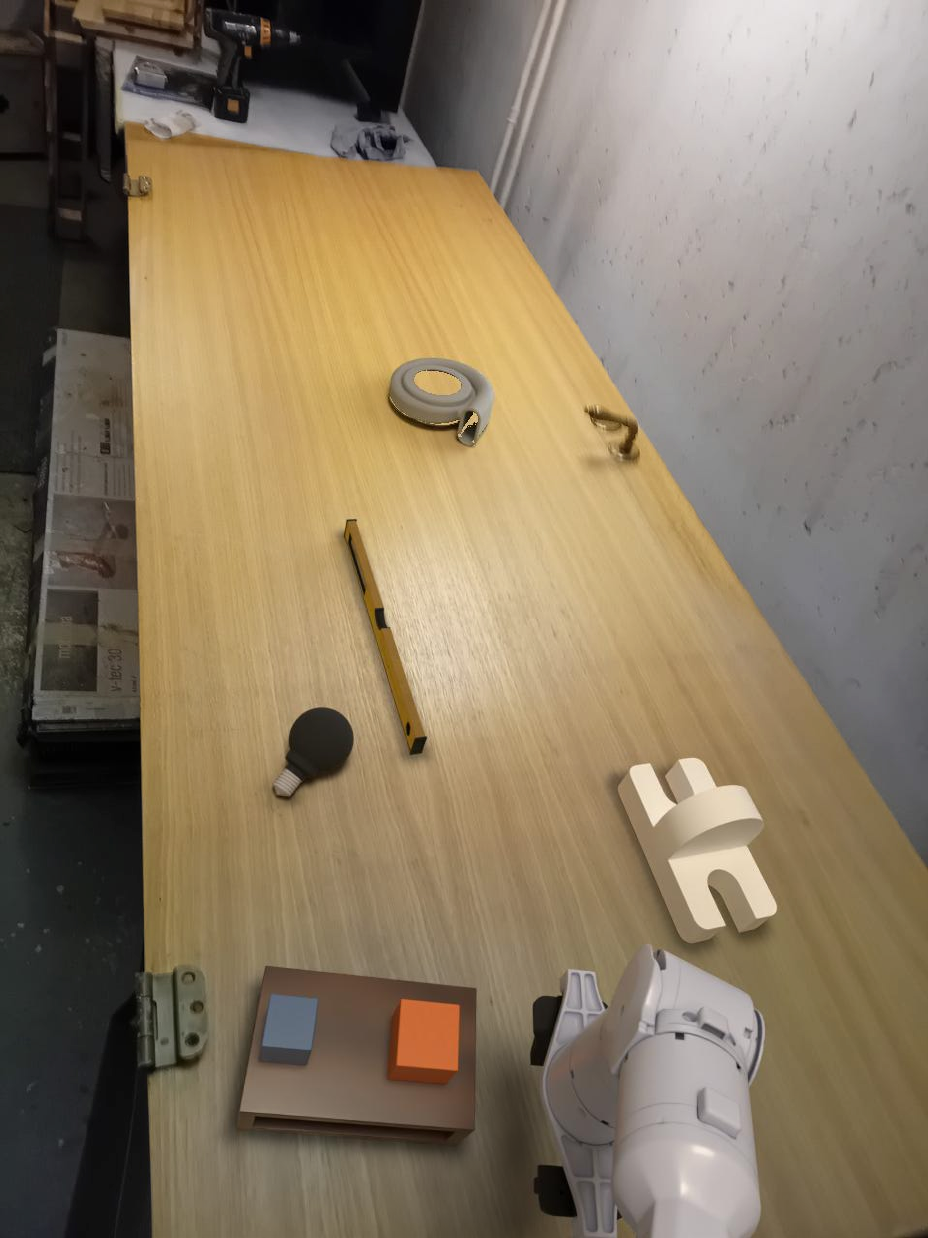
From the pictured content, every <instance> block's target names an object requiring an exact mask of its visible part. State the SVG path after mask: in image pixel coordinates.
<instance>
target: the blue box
mask: <svg viewBox="0 0 928 1238" xmlns="http://www.w3.org/2000/svg"><path fill="white" fill-rule="evenodd" d="M318 1002H319V999H318V998H308V997H298V996H288V995H278V994H270V998H269V1004H268V1010H267V1015H266V1021H265V1027H264V1032H263V1038H262V1044H261V1049H260V1055H259V1061H262V1062H273V1063H284V1064H296V1065H307V1063H308V1060H309V1057H310V1054H311V1051H312V1046H313V1038H314V1031H315V1024H316V1016H317V1009H318Z"/></svg>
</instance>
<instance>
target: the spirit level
mask: <svg viewBox="0 0 928 1238" xmlns="http://www.w3.org/2000/svg"><path fill="white" fill-rule="evenodd" d="M343 538H344V539H345V541H346V544H347V548H348V551H349V554H350V557H351V561H352V564H353V567H354V571H355V574H356V577H357V581H358V583H359V584H358V585H359V587H360V590H361V593H362V594H361V595H362V597H363V600H364V604H365V607H366V610H367V613H368V616H369V619H370V620H369V621H370V623H371V627H372V630H373V633H374V637H375V640H376V643H377V646H378V649H379V652H380V656H381V659H382V661H383V665H384V669H385V671H386V676H387V678H388V682H389V685H390V689H391V691H392V695H393V698H394V702H395V705H396V708H397V711H398V715H399V718H400V721H401V724H402V728H403V730H404V734H405V739H406V741H407V744H408V748H409V750H410V751H409V755H416V754H417V755H418V754H422V753H423V751H424V749H425V745H426V743H427V740H428V736H427V735H426V733H425V731H424V727H423V725H422V722H421V719H420V716H419V712H418V710H417V706H416V703H415V700H414V696H413V693H412V691H411V687H410V684H409V682H408V678H407V675H406V672H405V669H404V665H403V663H402V660H401V657H400V653H399V651H398V647H397V644H396V641H395V638H394V635H393V634H394V633H393V631H392V629H391V626H388V625H387V622H386V618H385V607H384V604H383V601H382V597H381V594H380V592H379V588H378V586H377V582H376V578H375V576H374V573H373V569H372V567H371V563H370V560H369V558H368V553H367V551H366V548H365V544H364V541H363V539H362V535H361V532H360V529H359V526H358V519H357V518H353V519H352V518H349V519H346V521H345V527H344V532H343Z"/></svg>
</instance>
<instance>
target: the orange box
mask: <svg viewBox="0 0 928 1238" xmlns="http://www.w3.org/2000/svg"><path fill="white" fill-rule="evenodd" d="M459 1018H460V1005H456V1004H446V1003H436V1002H426V1001H416V1000H407V999H401V1001H400V1002H399V1004H398V1006H397V1008H396V1010H395V1012H394V1013H393V1015H392V1026H391V1039H390V1051H389V1064H388V1077H387V1078H388V1079H390V1080H401V1081H413V1082H424V1083H436V1084H447V1083H448V1082H449V1080H450V1079H451V1078H452V1077H453V1076H454V1075H455V1074H456V1072H457V1071H458V1057H459Z"/></svg>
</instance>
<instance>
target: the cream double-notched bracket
mask: <svg viewBox="0 0 928 1238" xmlns="http://www.w3.org/2000/svg"><path fill="white" fill-rule="evenodd" d="M664 777H665V780H666V782H667V784H668V786H669V788H670V790H671V792H672V794H673V797H674V799H675V800H676V803H675V802H673V801H672V800H670V799H669V797H667V795H666V794H665V792H664V790H663V787H662V785H661V783H660V780H659V779H658V776H657V774H656V773H655V771H654V769H653V766H652V764H651V763H643V764H636V765H633V766H631V768H630V769H629V770H628V772H627V773H626V774H625V776H624V777H623V778H622V780H621V781H620V783H619V784H618V785H617V793H618V796H619V798H620V801H621V803H622V806H623V807H624V810H625V812H626V814H627V817H628V819H629V822H630V824H631V826H632V829H633V831H634V833H635V835H636V838H637V841H638V843H639V846H640V848H641V850H642V852H643V854H644V856H645V859H646V861H647V865H648V866H649V868H650V871H651V873H652V876H653V878H654V880H655V883H656V884H657V885H656V886H657V887H658V888H659V892H660V894H661V896H662V899H663V901H664V903H665V906H666V908H667V910H668V914H669V915H670V918H671V920H672V922H673V925H674V926H675V929H676V931H677V934H678V936H679V937H680V939H682V940H683V941H684V942H686V943H687V944H696V943H700V942H704V941H709V940H710V939H712V938H713V937H714V936H715V935H717V934H718V933H719V932H720V931H721V930H723V929H724V928H725V927H726V926H727V925H726V923H725V920H724V918H723V917H722V914H721V912H720V910H719V908H718V906H717V903H716V901H715V899H714V896H713V894H712V893H711V890H710V888H709V887H711V888H713V889H714V890H716V891H717V892H718V893H719V895H720V896H721V898H722V900H723V902H724V905H725V907H726V908H727V910H728V913H729V915H730V917H731V919H732V921H733V923H734V925H735V928H736V929H737V932H738V933H739V934H741V933H744V932H749V931H753V930H756V929H758V928H759V927H760V926H762V924H764V923H765V922H766V921H767V920H769V919H770V918H771V917H773V916H774V915H775V914H776V913H777V911H778V905H777V902H776V900H775V898H774V896H773V894H772V892H771V890H770V888H769V887H768V885H767V882H766V881H765V879H764V877H763V875H762V873H761V871H760V869H759V867H758V865H757V863H756V861H755V859H754V857H753V855H752V853H751V851H750V849H749V847H748V845H750V843H752V841H754V840H755V839H756V838H757V837H758V836H759V835H760V834H761V832H763V830H764V828H765V822H764V820H763V818H762V816H761V814H760V812H759V810H758V808H757V806H756V805H755V803H754V800H753V799H752V797H751V795H750V794H749V791H748V790H747V788H746V787H744V786H742V785H738V784H737V785H736V784H730V785H723V786H717V785H716V783H715V781H714V779H713V777H712V775H711V773H710V771H709V769H708V767H707V766H706V764H705V763H704V761H703V760H702V759H699V758H697V757H687V758H681V759H677V761H676V762H675V763H674V764H673V765H672V767H671V768H670V770H668V772H667V773H666V774H665V775H664Z"/></svg>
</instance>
